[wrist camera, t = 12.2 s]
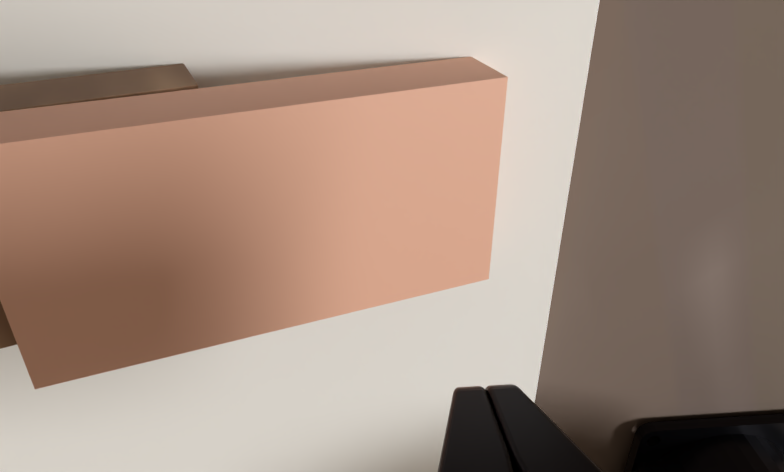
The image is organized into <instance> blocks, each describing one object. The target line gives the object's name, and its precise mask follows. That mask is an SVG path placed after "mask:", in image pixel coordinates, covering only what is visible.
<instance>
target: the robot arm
mask: <svg viewBox="0 0 784 472" xmlns="http://www.w3.org/2000/svg"><path fill="white" fill-rule="evenodd" d="M437 472H602V471H601V470H600V469H599V468H598V467H597V466H596V465H595V464H594V463H593V462H592V461H591V460H590V459H589V458H588V457H587V456H586V455H585V454H584V453H583V452H582V451H581V449H580V448H579V447H578V446H577V445H576V444H575V443H574V442H573V441H572V440H571V439H570V438H569V437H568V436H567V435H566V434H565V433H564V432H563V431H562V430H561V429H560V428H559V427H558V426H557V425H556V424H555V423H554V422H553V421H552V420H551V419H550V418H549V417H548V416H547V415H546V414H545V413H544V412H543V411H542V410H541V409H540V408H539V407H538V406H537V405H536V404H535V403H534V402H533V401H532V400H531V399H530V398H529V397H528V396H527V395H526V394H525V393H524V392H523V391H522V390H521V389H520V388H519V387H517V386H516V385H513V384H504V385H490V386H487V387H486V388H485V389H484V388H483V387H481V386H470V387H457V388H456V389H455V390H454V392H453V396H452V401H451V406H450V411H449V416H448V421H447V426H446V431H445V436H444V441H443V446H442V451H441V456H440V461H439V466H438V471H437ZM624 472H784V414H773V415H758V416H742V417H726V418H711V419H695V420H679V421H664V422H651V423H646V424H644V425H642V426H640V427H639V428H638V429H637V431H636V433H635V436H634V439H633V443H632V446H631V450H630V453H629V457H628V460H627V464H626V467H625V471H624Z"/></svg>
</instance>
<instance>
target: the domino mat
mask: <svg viewBox="0 0 784 472" xmlns="http://www.w3.org/2000/svg"><path fill="white" fill-rule="evenodd" d="M599 1H600V0H0V85H5V84H13V83H22V82H30V81H38V80H47V79H55V78H64V77H72V76H81V75H89V74H98V73H106V72H114V71H123V70H131V69H140V68H148V67H157V66H165V65H173V64H182V63H184V65H185V66H186V68H187V69H188V71H189V72H190V74H191V75H192V77H193V78H194V80H195V81H196V83H197V84H198V88H207V87H215V86H224V85H232V84H241V83H249V82H258V81H266V80H275V79H283V78H292V77H300V76H309V75H318V74H326V73H335V72H343V71H352V70H360V69H369V68H377V67H386V66H394V65H403V64H411V63H420V62H428V61H437V60H445V59H454V58H462V57H473V58H475V59H476V60H478V61H480V62H482V63H484V64H485V65H487V66H489V67H491V68H493V69H494V70H496V71H498V72H500V73H502V74H503V75H505V76H507V77H508V81H507V91H506V102H505V113H504V123H503V134H502V144H501V155H500V165H499V176H498V187H497V197H496V208H495V218H494V229H493V240H492V250H491V261H490V271H489V279H487V280H483V281H479V282H475V283H470V284H466V285H462V286H458V287H454V288H450V289H446V290H442V291H438V292H433V293H429V294H425V295H421V296H417V297H413V298H409V299H405V300H401V301H396V302H392V303H388V304H384V305H380V306H376V307H372V308H368V309H363V310H359V311H355V312H351V313H347V314H343V315H339V316H335V317H331V318H326V319H322V320H318V321H314V322H310V323H306V324H302V325H298V326H294V327H289V328H285V329H281V330H277V331H273V332H269V333H265V334H261V335H256V336H252V337H248V338H244V339H240V340H236V341H232V342H228V343H224V344H219V345H215V346H211V347H207V348H203V349H199V350H195V351H191V352H187V353H182V354H178V355H174V356H170V357H166V358H162V359H158V360H154V361H150V362H145V363H141V364H137V365H133V366H129V367H125V368H121V369H117V370H112V371H108V372H104V373H100V374H96V375H92V376H88V377H84V378H80V379H75V380H71V381H67V382H63V383H59V384H55V385H51V386H47V387H43V388H38V389H34V386H33V383H32V381H31V378H30V376H29V373H28V371H27V368H26V365H25V363H24V360H23V358H22V355H21V353H20V350H19V347H18V345H13V346H9V347H5V348H1V349H0V472H437V471H438V466H439V461H440V456H441V451H442V446H443V441H444V436H445V431H446V426H447V421H448V416H449V411H450V406H451V401H452V396H453V392H454V390H455V389H456V388H457V387H470V386H481V387H483V388H484V389H485V388H486V387H487V386H490V385H504V384H513V385H516V386H517V387H519V388H520V389H521V390H522V391H523V392H524V393H525V394H526V395H527V396H528V397H529V398H530V399H531V400H532V401H533V402H534V403H535V397H536V391H537V385H538V378H539V372H540V366H541V360H542V354H543V347H544V341H545V335H546V329H547V323H548V316H549V310H550V304H551V298H552V292H553V286H554V279H555V273H556V267H557V261H558V255H559V248H560V242H561V236H562V230H563V224H564V217H565V211H566V205H567V199H568V193H569V186H570V180H571V174H572V168H573V162H574V156H575V149H576V143H577V137H578V131H579V125H580V118H581V112H582V106H583V100H584V94H585V87H586V81H587V75H588V69H589V63H590V57H591V50H592V44H593V38H594V32H595V26H596V19H597V13H598V7H599Z"/></svg>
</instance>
